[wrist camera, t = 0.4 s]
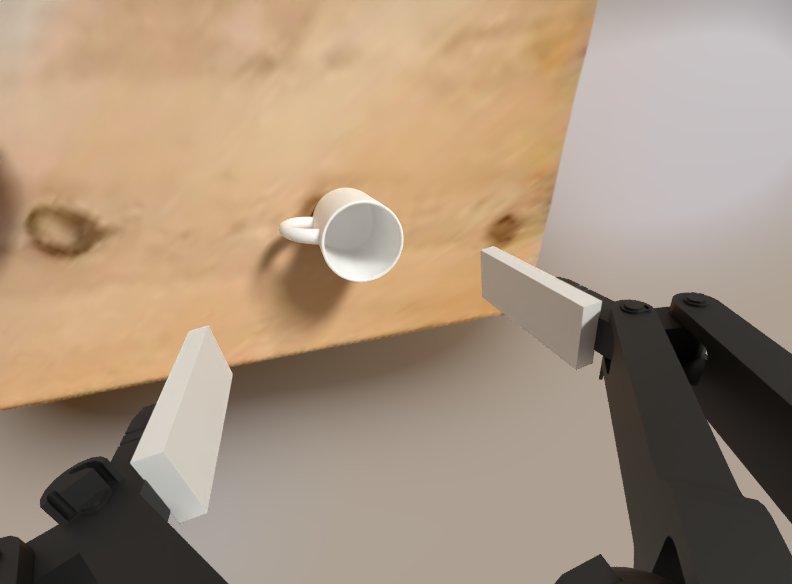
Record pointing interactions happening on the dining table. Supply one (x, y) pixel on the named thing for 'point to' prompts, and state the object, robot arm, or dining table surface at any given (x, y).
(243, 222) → the dining table surface
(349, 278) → the mug
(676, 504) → the robot arm
